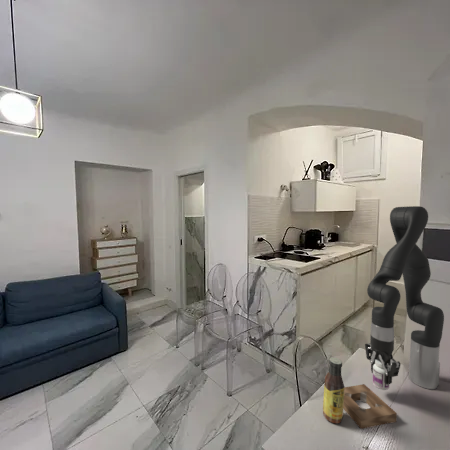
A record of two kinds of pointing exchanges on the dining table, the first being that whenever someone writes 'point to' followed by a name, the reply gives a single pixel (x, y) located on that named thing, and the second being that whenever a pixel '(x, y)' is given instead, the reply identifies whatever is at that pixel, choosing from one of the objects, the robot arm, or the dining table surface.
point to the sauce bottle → (333, 392)
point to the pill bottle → (379, 376)
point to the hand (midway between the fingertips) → (380, 378)
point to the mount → (370, 416)
